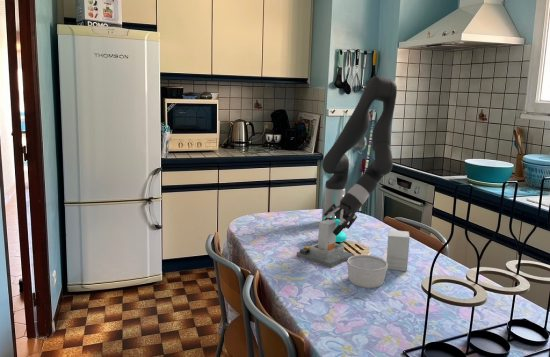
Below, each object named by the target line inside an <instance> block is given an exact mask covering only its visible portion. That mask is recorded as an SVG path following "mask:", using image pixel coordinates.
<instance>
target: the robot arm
mask: <svg viewBox="0 0 550 357" xmlns="http://www.w3.org/2000/svg"><path fill="white" fill-rule="evenodd" d="M397 93H398V85H397V82H396V81H395V80H394V79H391V78H387V77H383V76H378V75H374V76H372V77H371V78H370V79H369V81H368V82H367V83H366V86H365V88H364V90H363V92H362V94H361V96H360V98H359V101H358V103H357V105H356V106H355V108H354V110H353V112H352V113H351V114H350V117H349V118H348V120H347V122H346V123H345V125H344V127H343V129H342V131H341V132H340V133H339V136H338V137H337V138H336V141H335V142H334V143H333V145H332V146H331V147H330V149H329V150H328V151H327V152H326V154H325V155H324V158H323V160H322V166H321V167H322V169H323V172H325V173H326V174H331V175H332V176H331V177H330V178H329V179H327V180H326V181H325V190H324V191H325V192H324V202H323V203H322V212H321V214H322V215H321V222H322V221H323V219H324V217H326V218H325V219H324V220H328V219H329V220H336V219H339V220H340V225H338V226H337V227H336V228H335V229H334V231H333V233H334V234H335V235H336V236H337V235H338V234H339V233H340V232H341V231H342V232H343V230H344V229H350V228H351V226H352V225H354V222H355V221H356V220H357V219H358V216H357V212H358V211H359V210H360V209H361V207H362V206H363V205H364V203H366V201H367V200H368V199H369V196H370V195H371V194H372V193H373V192H374V190H375V189H376V188H377V187H378V186H377V185H378V183H379V182H380V181H381V180H382V178H383V177H385V175H388V174H389V173H391V172H392V169H393V166H394V164H393V163H394V162H393V161H394V160H393V154H392V148H391V144H392V122H393V118H394V112H395V106H396V100H397V96H398V95H397ZM374 101H377V102H382V112H381V114H380V117H379V118H378V120H377V121H376V123H375V125H374V127H373V129H372V140H371V141H372V142H371V144H372V147H371V148H372V150H373V151H374V160H373V161H372V162H371V163H370V164H369V165H368V167H367V168H366V169H365V171H364V173H363V174H362V175H361V176H360V177H359V178H358V180H357V181H356V182H355V183H354V184H352V186H351V187H350V188H349V189H348V191H347V192H346V185H347V183H348V178H349V170H350V169H349V168H350V161H349V157H348V155H347V154H346V153H348V152H349V151H350V150H351V149H352V148H354V147H355V146H356V145H358V143H360V142H361V141H362V140H363V138H365V135H366V134H367V133H368V130H369V129H370V115H369V114H370V112H369V111H370V108H371V105H372V104H373V103H374ZM331 216H332V217H331ZM330 217H331V218H330Z"/></svg>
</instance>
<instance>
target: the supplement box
mask: <svg viewBox="0 0 550 357" xmlns="http://www.w3.org/2000/svg"><path fill="white" fill-rule="evenodd" d="M410 237H411V236H410V231H406V230H404V231H403V230H394V229H388V234H387V246H386V247H387V249H386V250H387V252H386V262H387V264H388V268H387V270H391V271H399V272H401V271H402V272H407V271H408V264H409V262H408V260H409V252H410V251H409V250H410V239H411V238H410Z"/></svg>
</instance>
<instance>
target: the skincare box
mask: <svg viewBox="0 0 550 357" xmlns="http://www.w3.org/2000/svg"><path fill="white" fill-rule="evenodd" d="M336 225H337V222H336V221H332V220H329V219H328V220H324V221H322V220H321V221H320V222H318V236H317V238H318V239H317V243H318V248H319V249H322V250H325V251H328V250H331V249H333V248H335V241H336V235H335V234H334V233H333V231H334V229H335V228H336Z"/></svg>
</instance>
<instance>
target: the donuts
mask: <svg viewBox="0 0 550 357" xmlns="http://www.w3.org/2000/svg"><path fill="white" fill-rule="evenodd" d="M331 217H332V216H331ZM331 217H330V218H331ZM325 218H326V217H324V219H325ZM324 219H323V221H324ZM332 221H336V222H337V225H336V227H337V226H338V225H340V220H339V219H336V220H332ZM346 240H347V234H346V233H345V231H343V230H342V231H341V232H340V233H339V234H338V235H337V236H336V241H335V242H341V243H344V242H345V241H346ZM343 241H344V242H343Z"/></svg>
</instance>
